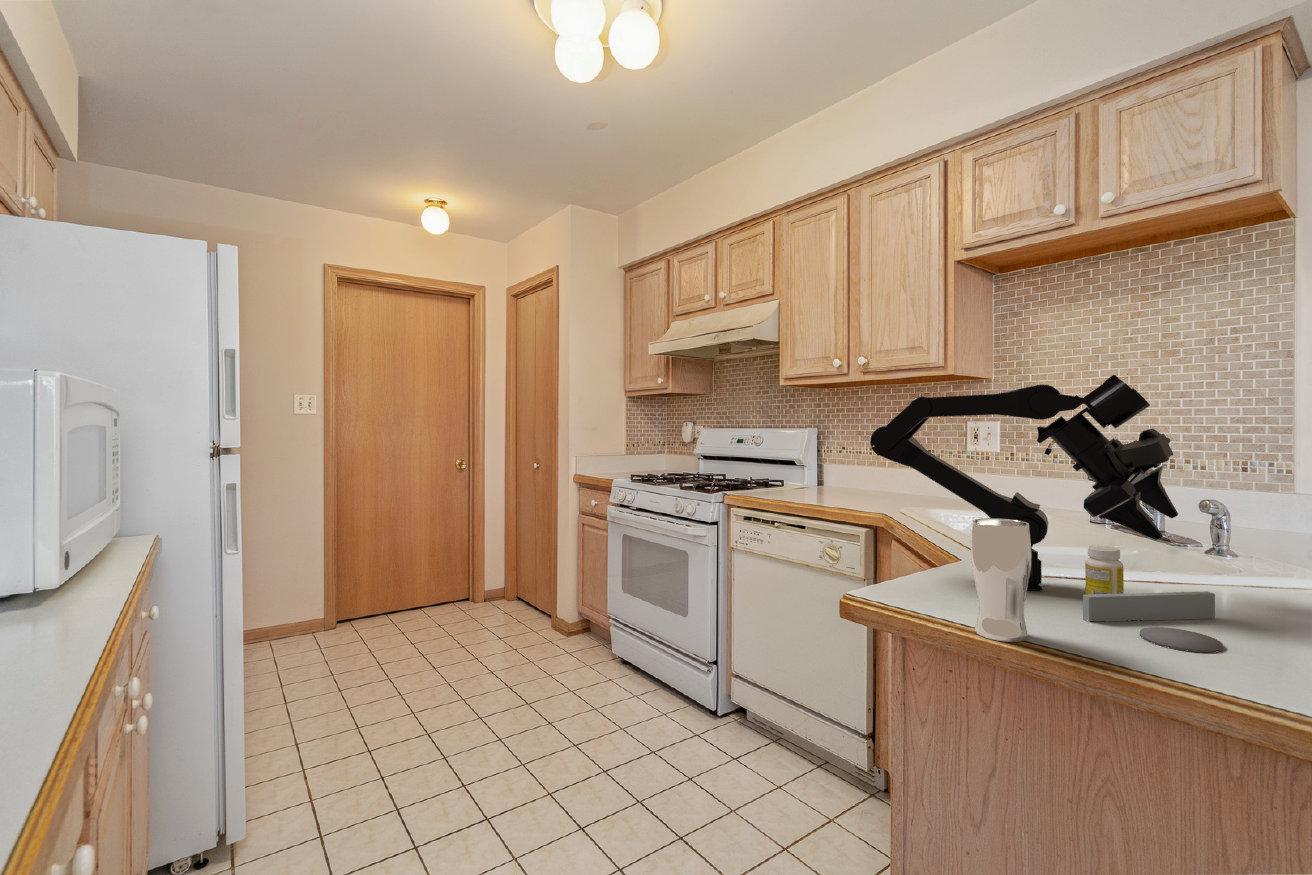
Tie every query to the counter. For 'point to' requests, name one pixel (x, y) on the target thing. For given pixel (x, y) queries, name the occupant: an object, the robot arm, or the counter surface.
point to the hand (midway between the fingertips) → (1167, 527)
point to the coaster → (1181, 639)
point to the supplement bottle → (1104, 571)
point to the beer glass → (1001, 577)
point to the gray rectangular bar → (1149, 606)
